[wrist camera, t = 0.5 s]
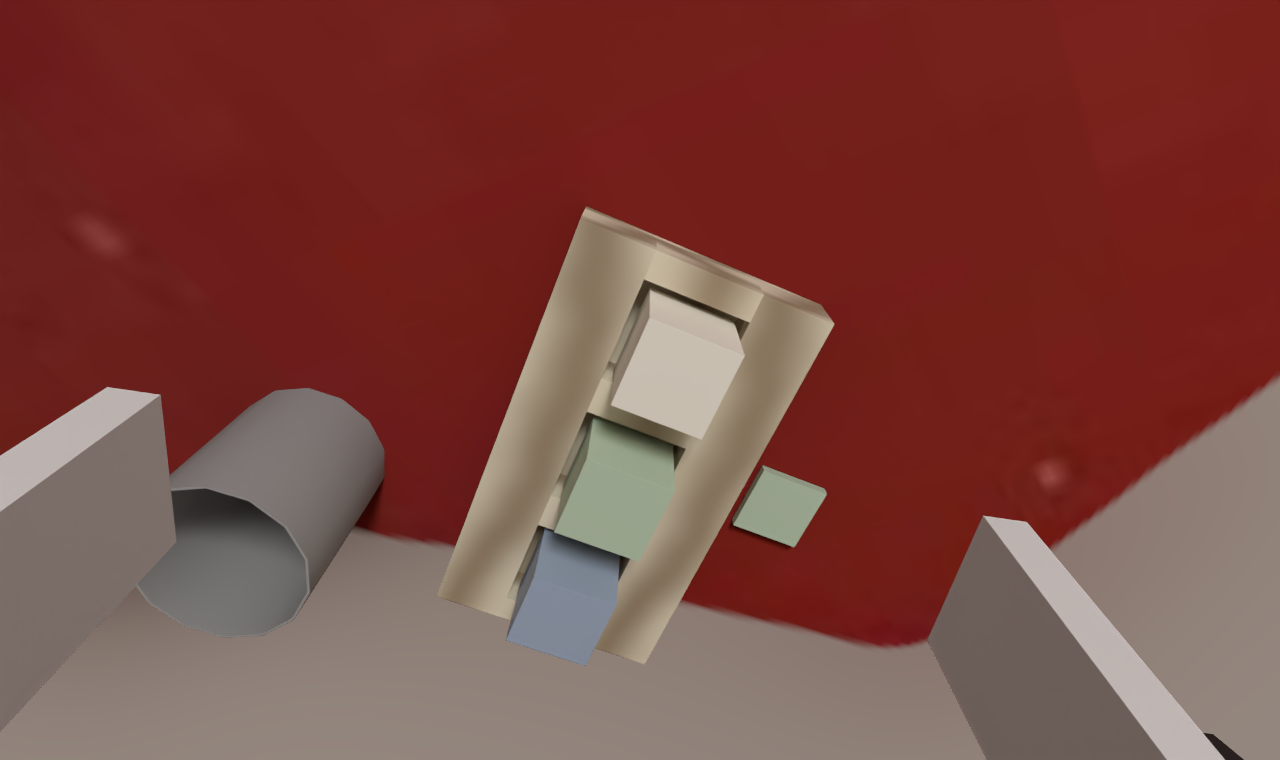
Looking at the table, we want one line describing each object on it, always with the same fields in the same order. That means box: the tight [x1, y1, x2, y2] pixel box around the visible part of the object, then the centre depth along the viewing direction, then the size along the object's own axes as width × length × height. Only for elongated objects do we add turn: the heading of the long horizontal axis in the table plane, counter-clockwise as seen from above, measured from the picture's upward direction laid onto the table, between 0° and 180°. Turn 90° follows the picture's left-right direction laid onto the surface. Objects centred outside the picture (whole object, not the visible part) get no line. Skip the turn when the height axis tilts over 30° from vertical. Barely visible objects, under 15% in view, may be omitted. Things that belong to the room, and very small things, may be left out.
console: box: [437, 207, 834, 664], centre depth 39 cm, size 13×24×3 cm, turn 157°
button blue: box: [506, 527, 620, 666], centre depth 40 cm, size 4×4×4 cm
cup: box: [136, 388, 384, 638], centre depth 37 cm, size 8×8×10 cm
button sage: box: [554, 415, 675, 562], centre depth 37 cm, size 4×4×4 cm
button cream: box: [611, 288, 745, 440], centre depth 34 cm, size 4×4×4 cm
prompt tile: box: [732, 465, 827, 547], centre depth 42 cm, size 4×4×1 cm
